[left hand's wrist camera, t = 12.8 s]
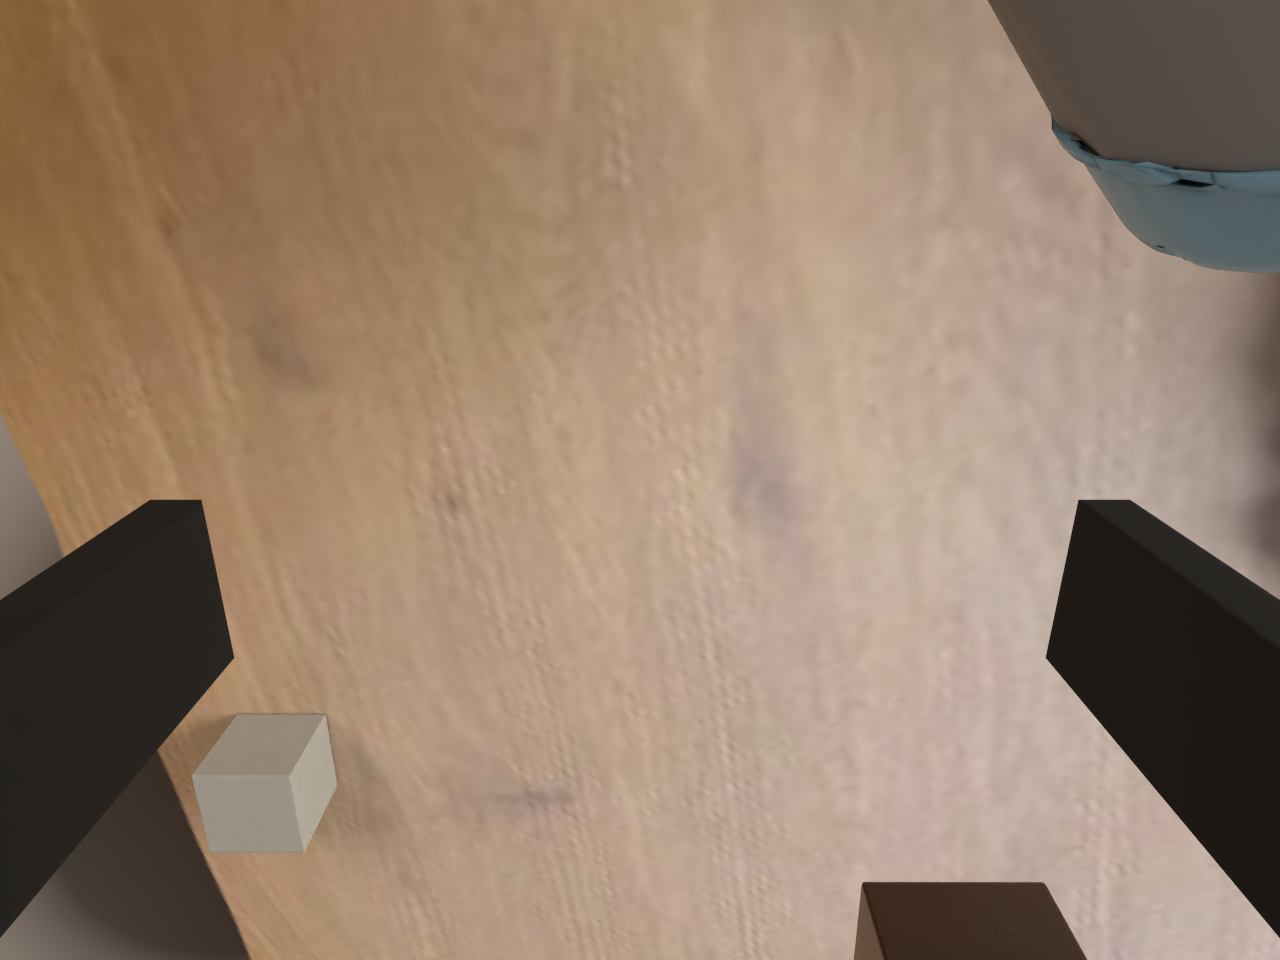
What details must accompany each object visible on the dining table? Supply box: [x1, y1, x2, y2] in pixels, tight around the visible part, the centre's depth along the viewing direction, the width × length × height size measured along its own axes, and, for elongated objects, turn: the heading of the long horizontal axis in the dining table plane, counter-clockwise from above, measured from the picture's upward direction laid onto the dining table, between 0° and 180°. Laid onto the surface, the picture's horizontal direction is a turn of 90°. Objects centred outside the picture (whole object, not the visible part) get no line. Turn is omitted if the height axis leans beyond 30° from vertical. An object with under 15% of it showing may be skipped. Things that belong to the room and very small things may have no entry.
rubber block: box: [192, 714, 337, 852], centre depth 44 cm, size 5×5×5 cm
